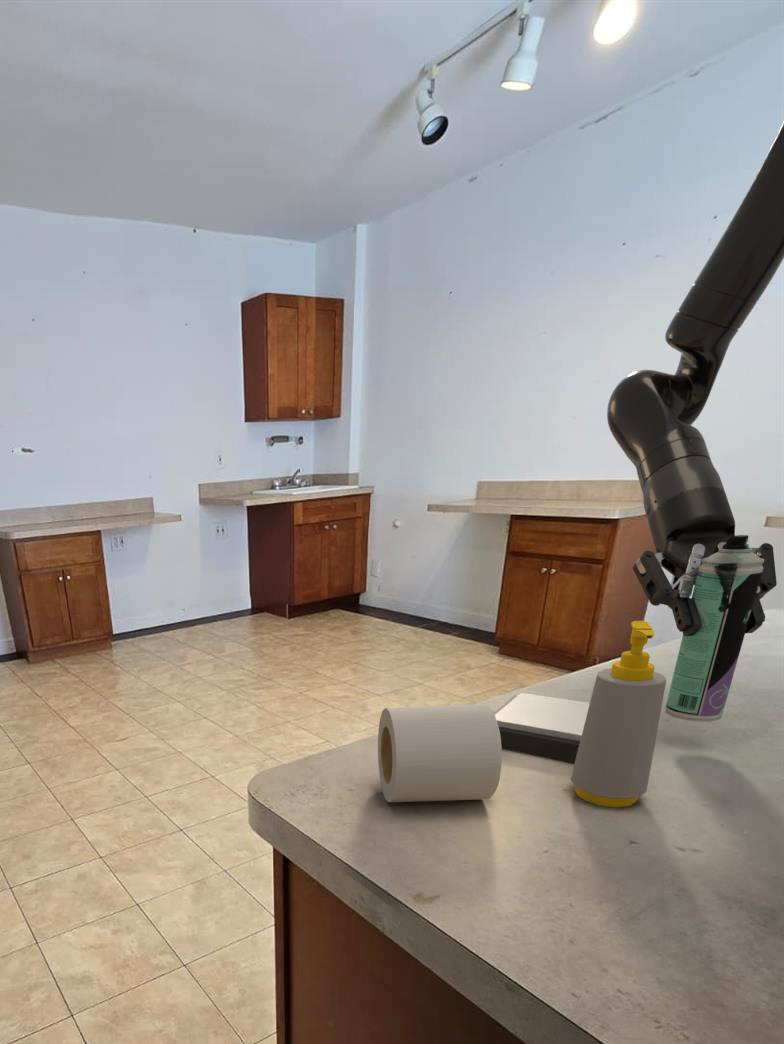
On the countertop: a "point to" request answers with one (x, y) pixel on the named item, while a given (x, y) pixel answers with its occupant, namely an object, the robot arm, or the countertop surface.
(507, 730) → the scale
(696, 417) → the robot arm
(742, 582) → the spray can
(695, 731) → the countertop surface
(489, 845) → the countertop surface
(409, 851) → the countertop surface
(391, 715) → the toilet paper
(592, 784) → the soap bottle
